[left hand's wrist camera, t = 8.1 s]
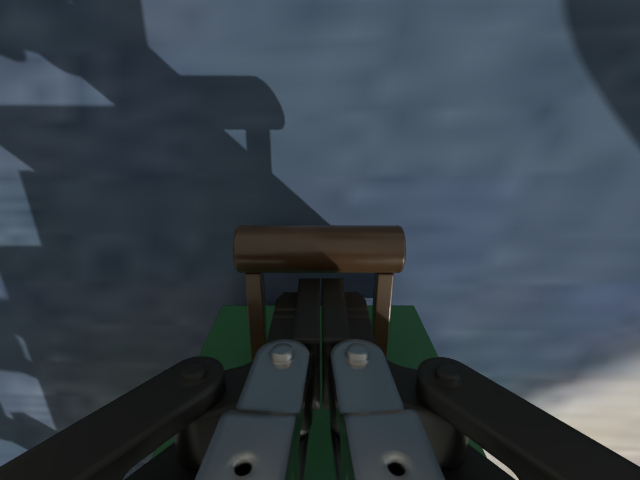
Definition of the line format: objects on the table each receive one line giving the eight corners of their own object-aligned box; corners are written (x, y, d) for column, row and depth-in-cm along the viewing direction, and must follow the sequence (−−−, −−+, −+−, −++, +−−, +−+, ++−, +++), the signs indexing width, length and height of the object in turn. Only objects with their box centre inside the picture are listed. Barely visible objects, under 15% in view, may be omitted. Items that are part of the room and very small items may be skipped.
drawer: (210, 195, 16) (73, 314, 7) (426, 196, 16) (567, 314, 7) (244, 510, 24) (201, 755, 15) (389, 509, 24) (433, 752, 15)
